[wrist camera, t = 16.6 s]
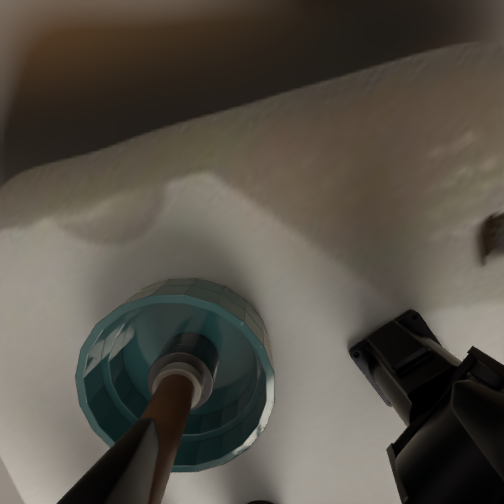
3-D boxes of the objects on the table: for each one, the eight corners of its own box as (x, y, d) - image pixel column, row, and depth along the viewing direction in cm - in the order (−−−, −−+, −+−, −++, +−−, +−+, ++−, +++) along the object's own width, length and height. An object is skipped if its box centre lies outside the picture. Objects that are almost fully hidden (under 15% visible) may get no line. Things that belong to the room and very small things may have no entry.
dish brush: (230, 363, 21) (197, 582, 9) (186, 394, 22) (97, 640, 9) (194, 320, 20) (103, 491, 8) (150, 353, 21) (1, 560, 9)
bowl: (301, 366, 22) (313, 407, 17) (181, 446, 23) (164, 502, 19) (202, 243, 20) (188, 252, 15) (79, 338, 21) (34, 372, 17)
